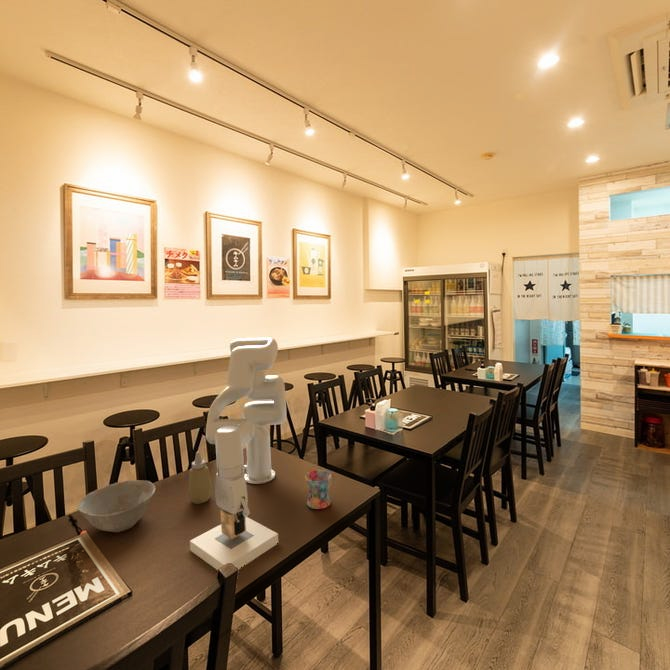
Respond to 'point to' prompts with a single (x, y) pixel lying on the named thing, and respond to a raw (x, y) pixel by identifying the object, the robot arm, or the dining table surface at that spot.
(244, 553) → the base board
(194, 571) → the dining table surface
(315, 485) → the mug
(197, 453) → the squeeze bottle
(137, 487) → the ceramic bowl
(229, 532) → the maple block
